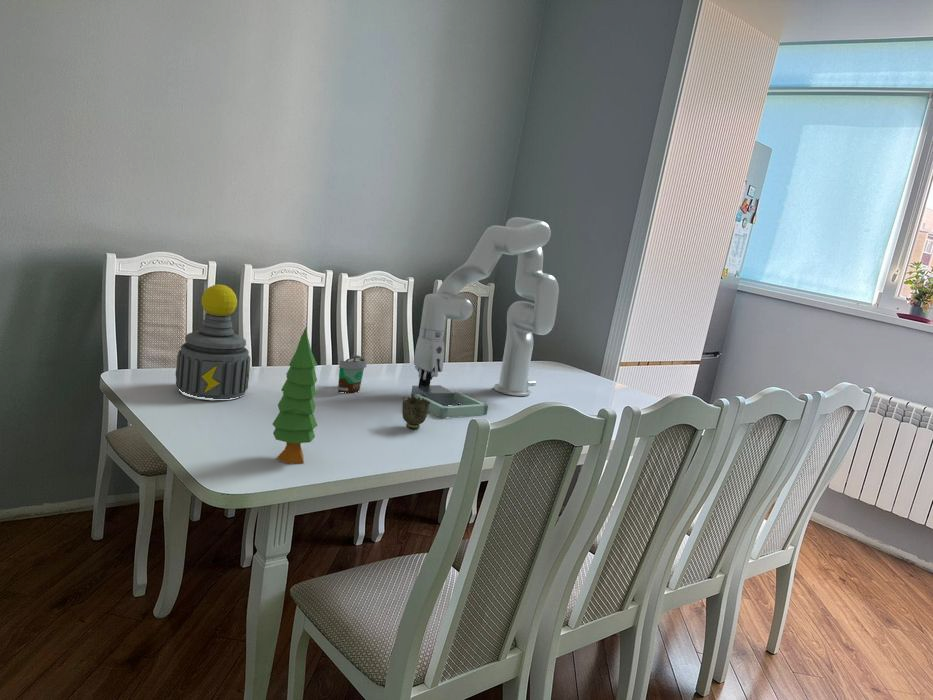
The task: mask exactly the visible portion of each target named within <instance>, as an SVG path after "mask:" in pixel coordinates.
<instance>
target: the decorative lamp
mask: <svg viewBox="0 0 933 700" xmlns="http://www.w3.org/2000/svg"><path fill="white" fill-rule="evenodd" d="M237 298H238V297H237V295H236V293H235V292H234V290H233V289H232V288H231V287H230V286H227V285H225V284H213V285H211V286H209V287H207V289H205V290H204V291H203V294H202V296H201V306H202V309H203V310H204V312H205V314H204V319H202V322H201V324H202V326H200V327H199V330H195V331H192V332H189V333H187V334H186V335H185V337H184V341H185V343H183V344H182V345H180V349H179V350H178V352H177V355H176V369H175V384H176V387H177V389H178V388H179V389H180V390H181V391H182V392H185V393H187V394H190V395H193V396H197V397H205V398H213V399H230V398H236V397H240V396H242V395H243V394H244V393H245V394H246V391H248V388H249V380H250V372H251V357H250V355H249V354H250V353H249V350H248V349H247V348H246V346H247V341H246V339H245V337H242V336H241V335H239V334H237V333H235V332H234V329H233V322H232V316H231V315H232V314H233V313H234V312H235V310H236V308H237V306H238V299H237ZM245 394H244V395H245ZM244 395H243V396H244ZM243 396H242V397H243ZM240 398H241V397H240Z"/></svg>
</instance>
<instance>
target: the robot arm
mask: <svg viewBox="0 0 933 700" xmlns="http://www.w3.org/2000/svg"><path fill="white" fill-rule="evenodd" d="M551 236H552V231H551V228H550V226H549V224H548V223H546V222H545V221H543V220H539V219H532V218H528V217H521V216H520V217H519V216H515V217H511V218H509V219H508V220H507V221H506V223H505V225H504V226H503V225H491V226H489V227H488V228H487V229H485V231H484V233H483V234H482V235H481V238H480V239H479V240H478V242H477V244H476V245H475V247H474V248H473V251H472V252H471V254H470V255H469V257H468V259H467V260H466V262H465V263H463V264H462V265H461V266H459V267H458V268H456V269H455V270H454V271H453V272H451V273H450V274H449V275H448V276H446V277H445V278H444V280H443V281H442V283H441V284H440V286H439V287H438V289H437V290H436V292H435V293H429V294H426V295H425V297H424V300H423V306H422V312H421V313H422V314H421V319H420V320H421V321H420V328H419V334H418V335H419V336H418V338H417V342H416V346H415V350H414V353H413V354H414V355H413V365H414V368H415V370H416V371H417V372H418V386H424V385H431V380H433V378H434V377H435V378H437V377H438V376H439V373H441V372H442V371H443V368H444V359H445V341H444V336H445V335H444V334H445V331H446V330H445V329H446V324H447V323H446V322H447V319H448V320H454V321H458V322H461V321H462V322H463V321H466V320H468V319H469V318H470V317H471V316H472V315H473V310H474V307H473V306H474V305H473V304H472V303H471V301H470V300H469V299H468V298H466V297H464V296H461V295H458V294H459V293H460V292H461V291H462V290H463V289H464V288H465V287H467V286H468V285H470V284H472V283H475V282H479V281H481V280H484V279H487V278H489V277H490V276H491V274H492V272H493V270H494V269H495V266H496V265H497V264H498V262H499V260H500V258H501V257H502V256H503V255H507V256H508V255H509V256H517V265H516V274H515V283H514V289H515V293H516V294H517V295H518V296H519V297H521V298H524V299H528V300H533V301H534V303H533V302H529V301H526V300H525V301H524V300H517V301H515V302H513V303H512V304H511V305H510V306H509V307H508V309H507V311H506V312H507V313H506V326H507V327H506V338H505V344H504V351H503V357H502V362H501V370H500V376H499V382H498V383H495V384H494V385H493V389H494V391H496V392H498V393H501V394H505V395H508V396H513V397H514V396H517V397H526V396H529V395H530V394H531V390H530V389H529V388H530V387H535V386H537V382H536V380H530V379H529V377H528V376H529V374H530V373H529V372H530V367H531V359H532V354H533V348H534V335H533V334H535V335H540V336H545V335H548V334H549V333H550V332H551V331H552V329H553V328H554V326H555V322H556V317H557V316H556V315H557V309H558V302H559V295H560V294H559V293H560V288H559V287H560V286H559V283H558V280H557V278H556V277H554V275H551V274H549V273H545V272H543V266H544V251H543V247H545V246H546V245H547V244H548V242H549V241H550V239H551Z"/></svg>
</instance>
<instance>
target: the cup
mask: <svg viewBox="0 0 933 700" xmlns="http://www.w3.org/2000/svg"><path fill="white" fill-rule="evenodd" d="M401 399H402V405H401V406H402V409H401V411H402V412H401V413H402V414H401V415H402V418H403V420H404V421H405V422H406V424H405V426H406V428H407V429H409V430H412V431H417V430H420V427H421V426H420V425H421V424H423V423H424V422H425V421H426V418H427V416H428V413H429V411H428V410H429V406H430V402H429V401H428V402H427V399H425V400H424V398H423V399H422V400H421V401H420V397H419V398H418V399H417V398H415V397H414V396H412V397H411V396H407V397H406V399H405V397H402V398H401Z"/></svg>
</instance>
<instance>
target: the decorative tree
mask: <svg viewBox="0 0 933 700" xmlns="http://www.w3.org/2000/svg"><path fill="white" fill-rule="evenodd" d="M288 365H289V369H288V370H287V372H286V373H285V374H286V380H285V382H284V384H283V386H282V387H281V389H280V390H281V391H282V397H281V398H280V400H279V401H278V404H277V407H278V410H279V411H278V414H277V416H276V417H275V419H274V421H273V423H272V426H274V428H275V429H274V431H273V432H272V434H273V436H274V437H273V438H274V439H275V440H277V441H280V442H285V443H286V446H285V448H284V449H283V450H282V451H281V453H279V455H277V457H278V458H277V460H279V459H280V460H279V462H281V461H283V462H282V463H284V462H286V463H285V464H287V463H290V464H289V465H292V464H291V463H293V465H294V464H295V465H296V464H297V465H300V464H303V465H304V464H305V461H304V453H303V449H302V445H301V444H308V443H312V441H313V440H314V438H316V435H315V431H314V429H315V428H316V427H318V423H317V420H316V417H315V415H314V412H315V409H316V408H317V406H316V403H315V400H314V397H316V396H317V389H316V383H317V381H318V379H317V378H318V377H317V373H316V369H315V367H317V366H318V363H317V361H316V359H315V356H314V353H313V351H312V347H311V344H310V340H309V335H308V330H307V327H305V328H304V330H303V332H302V334H301V336H300V340H299V342H298V344H297V347H296V351H295V352H294V354H293V356H292V357H291V360H290V361H289V364H288Z"/></svg>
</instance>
